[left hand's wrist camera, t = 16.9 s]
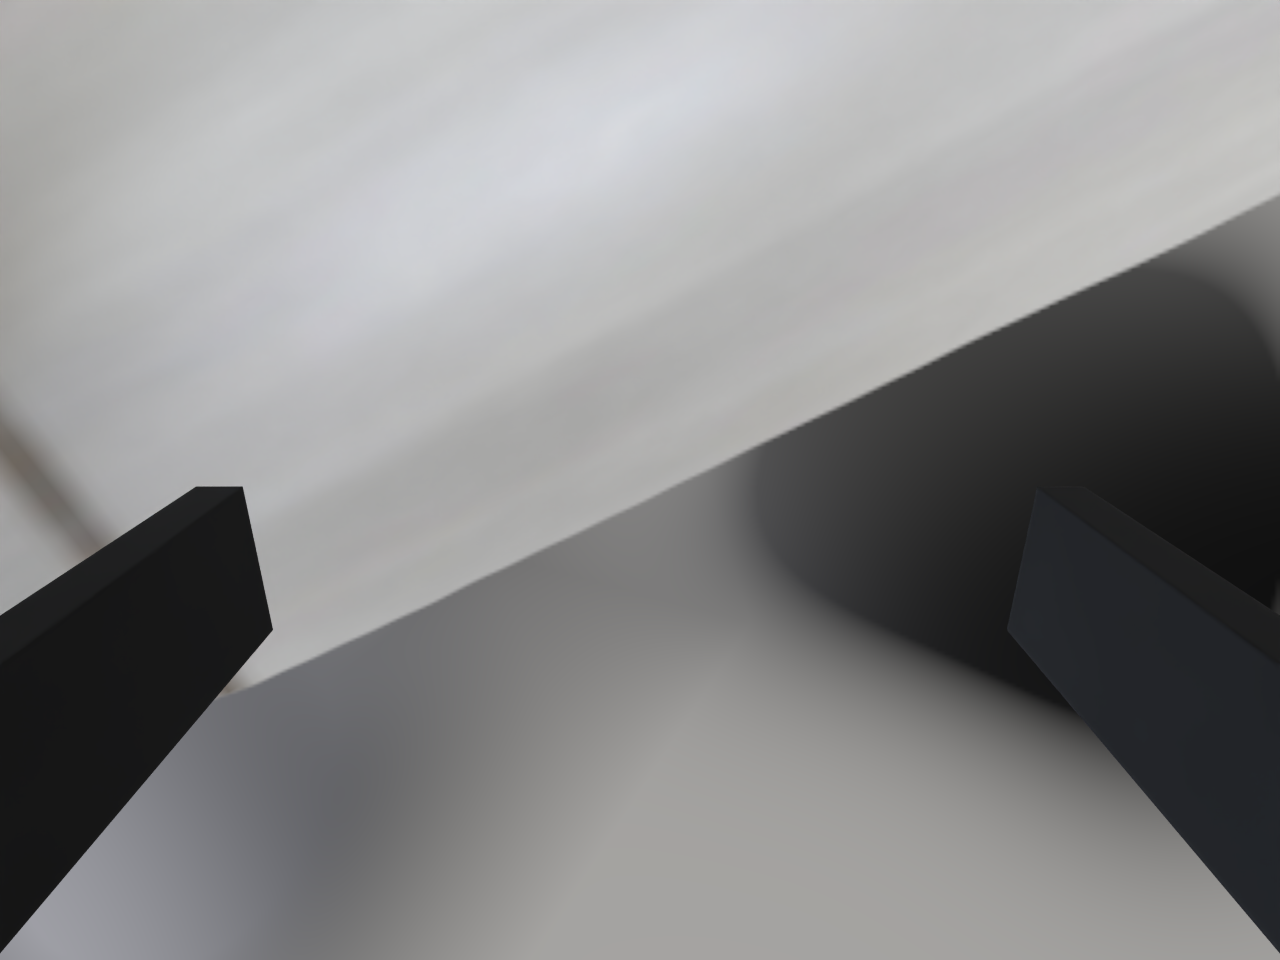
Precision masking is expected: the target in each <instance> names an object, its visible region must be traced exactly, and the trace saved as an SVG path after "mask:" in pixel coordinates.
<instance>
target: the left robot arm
mask: <svg viewBox="0 0 1280 960" xmlns="http://www.w3.org/2000/svg"><path fill="white" fill-rule="evenodd" d="M272 630H273V628H272V623H271V618H270V614H269V609H268V604H267V599H266V595H265V590H264V585H263V580H262V576H261V571H260V566H259V562H258V557H257V552H256V547H255V543H254V538H253V533H252V529H251V524H250V519H249V514H248V510H247V505H246V500H245V495H244V491H243V487H195V488H193V489H192V490H190V491H189V492H187V493H186V494H184V495H183V496H181V497H180V498H178V499H177V500H175V501H174V502H172V503H171V504H169V505H168V506H166V507H165V508H163V509H162V510H160V511H158V512H157V513H155V514H154V515H152V516H151V517H149V518H148V519H146V520H145V521H143V522H142V523H140V524H139V525H137V526H136V527H134V528H133V529H131V530H130V531H128V532H127V533H125V534H124V535H122V536H120V537H119V538H117V539H116V540H114V541H113V542H111V543H110V544H108V545H107V546H105V547H104V548H102V549H101V550H99V551H98V552H96V553H95V554H93V555H92V556H90V557H89V558H87V559H86V560H84V561H82V562H81V563H79V564H78V565H76V566H75V567H73V568H72V569H70V570H69V571H67V572H66V573H64V574H63V575H61V576H60V577H58V578H57V579H55V580H54V581H52V582H51V583H49V584H48V585H46V586H44V587H43V588H41V589H40V590H38V591H37V592H35V593H34V594H32V595H31V596H29V597H28V598H26V599H25V600H23V601H22V602H20V603H19V604H17V605H16V606H14V607H13V608H11V609H10V610H8V611H6V612H5V613H3V614H2V615H0V953H1V952H2V950H3V949H4V948H5V947H6V946H7V944H8V943H9V942H10V941H11V940H12V939H13V937H14V936H15V935H16V934H17V933H18V931H19V930H20V929H21V928H22V927H23V925H24V924H25V923H26V922H27V921H28V920H29V918H30V917H31V916H32V915H33V914H34V913H35V911H36V910H37V909H38V908H39V907H40V905H41V904H42V903H43V902H44V901H45V899H46V898H47V897H48V896H49V895H50V894H51V892H52V891H53V890H54V889H55V888H56V886H57V885H58V884H59V883H60V882H61V881H62V879H63V878H64V877H65V876H66V875H67V873H68V872H69V871H70V870H71V869H72V867H73V866H74V865H75V864H76V863H77V862H78V860H79V859H80V858H81V857H82V856H83V854H84V853H85V852H86V851H87V850H88V849H89V847H90V846H91V845H92V844H93V843H94V841H95V840H96V839H97V838H98V837H99V835H100V834H101V833H102V832H103V831H104V830H105V828H106V827H107V826H108V825H109V824H110V822H111V821H112V820H113V819H114V818H115V816H116V815H117V814H118V813H119V812H120V811H121V809H122V808H123V807H124V806H125V805H126V803H127V802H128V801H129V800H130V799H131V798H132V796H133V795H134V794H135V793H136V792H137V790H138V789H139V788H140V787H141V786H142V784H143V783H144V782H145V781H146V780H147V779H148V777H149V776H150V775H151V774H152V773H153V771H154V770H155V769H156V768H157V767H158V766H159V764H160V763H161V762H162V761H163V760H164V758H165V757H166V756H167V755H168V754H169V752H170V751H171V750H172V749H173V748H174V746H175V745H176V744H177V743H178V742H179V741H180V739H181V738H182V737H183V736H184V735H185V734H186V732H187V731H188V730H189V729H190V728H191V726H192V725H193V724H194V723H195V722H196V720H197V719H198V718H199V717H200V716H201V715H202V713H203V712H204V711H205V710H206V709H207V707H208V706H209V705H210V704H211V703H212V701H213V700H214V699H215V698H216V697H217V696H218V694H219V693H220V692H221V691H222V690H223V688H224V687H225V686H226V685H227V684H228V683H229V681H230V680H231V679H232V678H233V677H234V675H235V674H236V673H237V672H238V671H239V669H240V668H241V667H242V666H243V665H244V664H245V662H246V661H247V660H248V659H249V658H250V656H251V655H252V654H253V653H254V652H255V651H256V649H257V648H258V647H259V646H260V645H261V643H262V642H263V641H264V640H265V639H266V637H267V636H268V635H269V634H270V633H271V632H272ZM1007 630H1008V632H1009V633H1010V634H1011V635H1012V636H1013V637H1014V639H1015V640H1016V641H1017V642H1018V643H1019V645H1020V646H1021V647H1022V648H1023V649H1024V650H1025V652H1026V653H1027V654H1028V655H1029V656H1030V658H1031V659H1032V660H1033V661H1034V662H1035V664H1036V665H1037V666H1038V667H1039V668H1040V669H1041V671H1042V672H1043V673H1044V674H1045V675H1046V677H1047V678H1048V679H1049V680H1050V681H1051V682H1052V684H1053V685H1054V686H1055V687H1056V688H1057V690H1058V691H1059V692H1060V693H1061V694H1062V696H1063V697H1064V698H1065V699H1066V700H1067V702H1068V703H1069V704H1070V705H1071V706H1072V707H1073V709H1074V710H1075V711H1076V712H1077V713H1078V715H1079V716H1080V717H1081V718H1082V719H1083V720H1084V722H1085V723H1086V724H1087V725H1088V726H1089V728H1090V729H1091V730H1092V731H1093V732H1094V733H1095V735H1096V736H1097V737H1098V738H1099V739H1100V741H1101V742H1102V743H1103V744H1104V745H1105V747H1106V748H1107V749H1108V750H1109V751H1110V752H1111V754H1112V755H1113V756H1114V757H1115V758H1116V760H1117V761H1118V762H1119V763H1120V764H1121V766H1122V767H1123V768H1124V769H1125V770H1126V771H1127V773H1128V774H1129V775H1130V776H1131V777H1132V779H1133V780H1134V781H1135V782H1136V783H1137V784H1138V786H1139V787H1140V788H1141V789H1142V790H1143V792H1144V793H1145V794H1146V795H1147V796H1148V798H1149V799H1150V800H1151V801H1152V802H1153V803H1154V805H1155V806H1156V807H1157V808H1158V809H1159V811H1160V812H1161V813H1162V814H1163V815H1164V816H1165V818H1166V819H1167V820H1168V821H1169V822H1170V824H1171V825H1172V826H1173V827H1174V828H1175V830H1176V831H1177V832H1178V833H1179V834H1180V835H1181V837H1182V838H1183V839H1184V840H1185V841H1186V843H1187V844H1188V845H1189V846H1190V847H1191V848H1192V850H1193V851H1194V852H1195V853H1196V854H1197V856H1198V857H1199V858H1200V859H1201V860H1202V862H1203V863H1204V864H1205V865H1206V866H1207V867H1208V869H1209V870H1210V871H1211V872H1212V873H1213V875H1214V876H1215V877H1216V878H1217V879H1218V881H1219V882H1220V883H1221V884H1222V885H1223V886H1224V888H1225V889H1226V890H1227V891H1228V892H1229V894H1230V895H1231V896H1232V897H1233V898H1234V899H1235V901H1236V902H1237V903H1238V904H1239V905H1240V907H1241V908H1242V909H1243V910H1244V911H1245V912H1246V914H1247V915H1248V916H1249V917H1250V918H1251V920H1252V921H1253V922H1254V923H1255V924H1256V925H1257V927H1258V928H1259V929H1260V930H1261V931H1262V933H1263V934H1264V935H1265V936H1266V937H1267V939H1268V940H1269V941H1270V942H1271V943H1272V945H1273V946H1274V947H1275V948H1276V949H1277V950H1278V952H1279V953H1280V615H1278V614H1277V613H1275V612H1273V611H1272V610H1270V609H1269V608H1267V607H1266V606H1264V605H1263V604H1261V603H1260V602H1258V601H1257V600H1255V599H1254V598H1252V597H1251V596H1249V595H1248V594H1246V593H1245V592H1243V591H1242V590H1240V589H1239V588H1237V587H1236V586H1234V585H1232V584H1231V583H1229V582H1228V581H1226V580H1225V579H1223V578H1222V577H1220V576H1219V575H1217V574H1216V573H1214V572H1213V571H1211V570H1210V569H1208V568H1207V567H1205V566H1204V565H1202V564H1201V563H1199V562H1198V561H1196V560H1194V559H1193V558H1191V557H1190V556H1188V555H1187V554H1185V553H1184V552H1182V551H1181V550H1179V549H1178V548H1176V547H1175V546H1173V545H1172V544H1170V543H1169V542H1167V541H1166V540H1164V539H1163V538H1161V537H1160V536H1158V535H1156V534H1155V533H1153V532H1152V531H1150V530H1149V529H1147V528H1146V527H1144V526H1143V525H1141V524H1140V523H1138V522H1137V521H1135V520H1134V519H1132V518H1131V517H1129V516H1128V515H1126V514H1125V513H1123V512H1122V511H1120V510H1118V509H1117V508H1115V507H1114V506H1112V505H1111V504H1109V503H1108V502H1106V501H1105V500H1103V499H1102V498H1100V497H1099V496H1097V495H1096V494H1094V493H1093V492H1091V491H1090V490H1088V489H1087V488H1085V487H1037V491H1036V495H1035V500H1034V505H1033V510H1032V514H1031V519H1030V524H1029V529H1028V533H1027V538H1026V543H1025V547H1024V552H1023V557H1022V562H1021V566H1020V571H1019V576H1018V580H1017V585H1016V590H1015V595H1014V599H1013V604H1012V609H1011V613H1010V618H1009V623H1008V628H1007Z"/></svg>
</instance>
